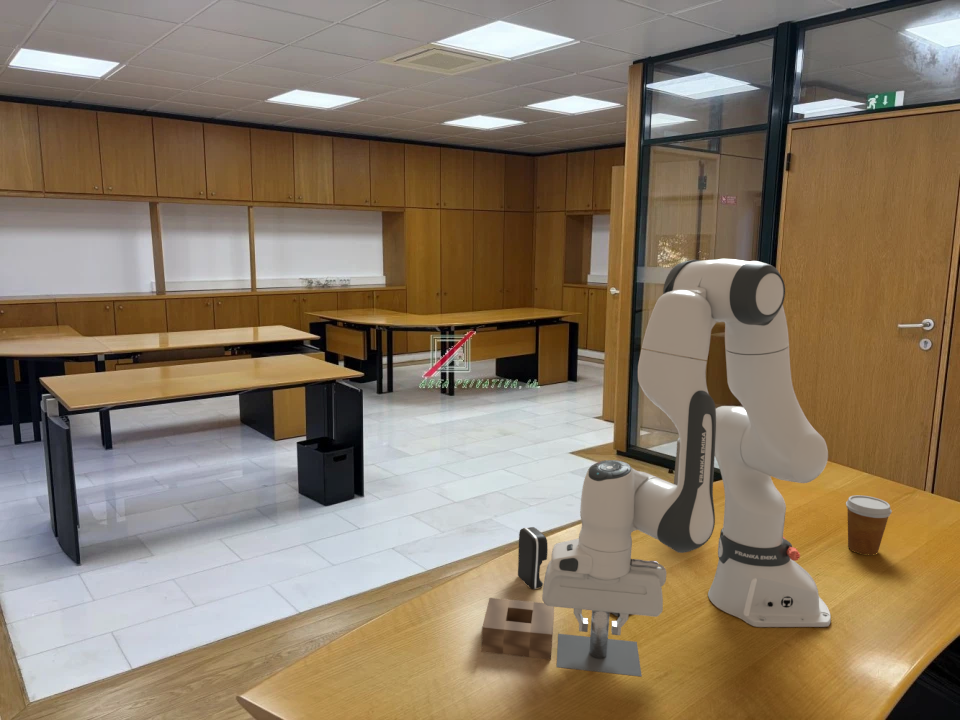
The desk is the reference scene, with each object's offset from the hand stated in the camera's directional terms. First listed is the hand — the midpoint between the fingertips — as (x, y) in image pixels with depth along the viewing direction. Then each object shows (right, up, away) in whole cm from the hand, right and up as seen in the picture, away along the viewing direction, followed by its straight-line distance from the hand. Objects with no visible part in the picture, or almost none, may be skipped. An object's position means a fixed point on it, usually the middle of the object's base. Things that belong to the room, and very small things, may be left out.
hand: (599, 631), depth 119 cm
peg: (0, -4, +1) cm, 4 cm away
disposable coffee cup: (+71, +1, +46) cm, 85 cm away
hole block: (-14, -4, +5) cm, 15 cm away
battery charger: (-10, 0, +26) cm, 28 cm away
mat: (0, -5, +1) cm, 5 cm away
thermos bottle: (+32, +4, +57) cm, 66 cm away
